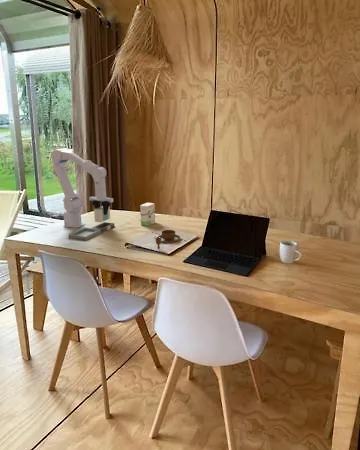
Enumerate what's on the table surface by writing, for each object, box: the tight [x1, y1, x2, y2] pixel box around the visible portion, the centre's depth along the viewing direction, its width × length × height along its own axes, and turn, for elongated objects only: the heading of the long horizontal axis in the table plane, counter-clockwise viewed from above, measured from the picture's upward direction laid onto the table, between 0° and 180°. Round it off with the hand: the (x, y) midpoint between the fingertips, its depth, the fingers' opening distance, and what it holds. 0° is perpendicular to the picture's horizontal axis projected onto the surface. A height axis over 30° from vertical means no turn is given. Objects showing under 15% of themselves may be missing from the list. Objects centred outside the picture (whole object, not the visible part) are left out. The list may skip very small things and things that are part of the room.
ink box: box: [139, 202, 156, 227], centre depth 212 cm, size 9×5×12 cm, turn 153°
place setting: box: [155, 229, 181, 250], centre depth 182 cm, size 18×20×6 cm
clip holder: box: [91, 221, 115, 233], centre depth 206 cm, size 7×12×2 cm, turn 157°
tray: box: [68, 227, 102, 241], centre depth 194 cm, size 11×14×2 cm
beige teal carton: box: [93, 205, 111, 223], centre depth 203 cm, size 4×9×7 cm, turn 157°
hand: (102, 214), depth 203 cm, fingers closed on beige teal carton, 4 cm apart
